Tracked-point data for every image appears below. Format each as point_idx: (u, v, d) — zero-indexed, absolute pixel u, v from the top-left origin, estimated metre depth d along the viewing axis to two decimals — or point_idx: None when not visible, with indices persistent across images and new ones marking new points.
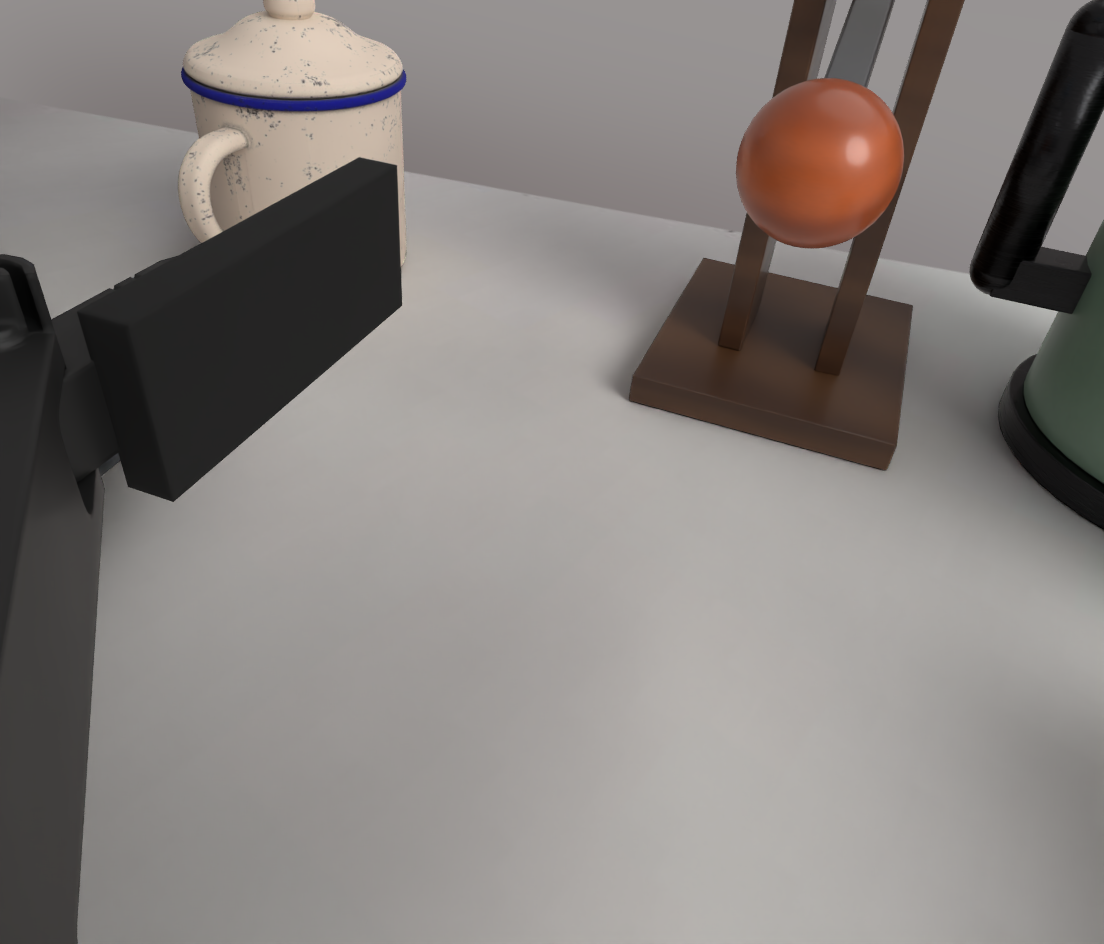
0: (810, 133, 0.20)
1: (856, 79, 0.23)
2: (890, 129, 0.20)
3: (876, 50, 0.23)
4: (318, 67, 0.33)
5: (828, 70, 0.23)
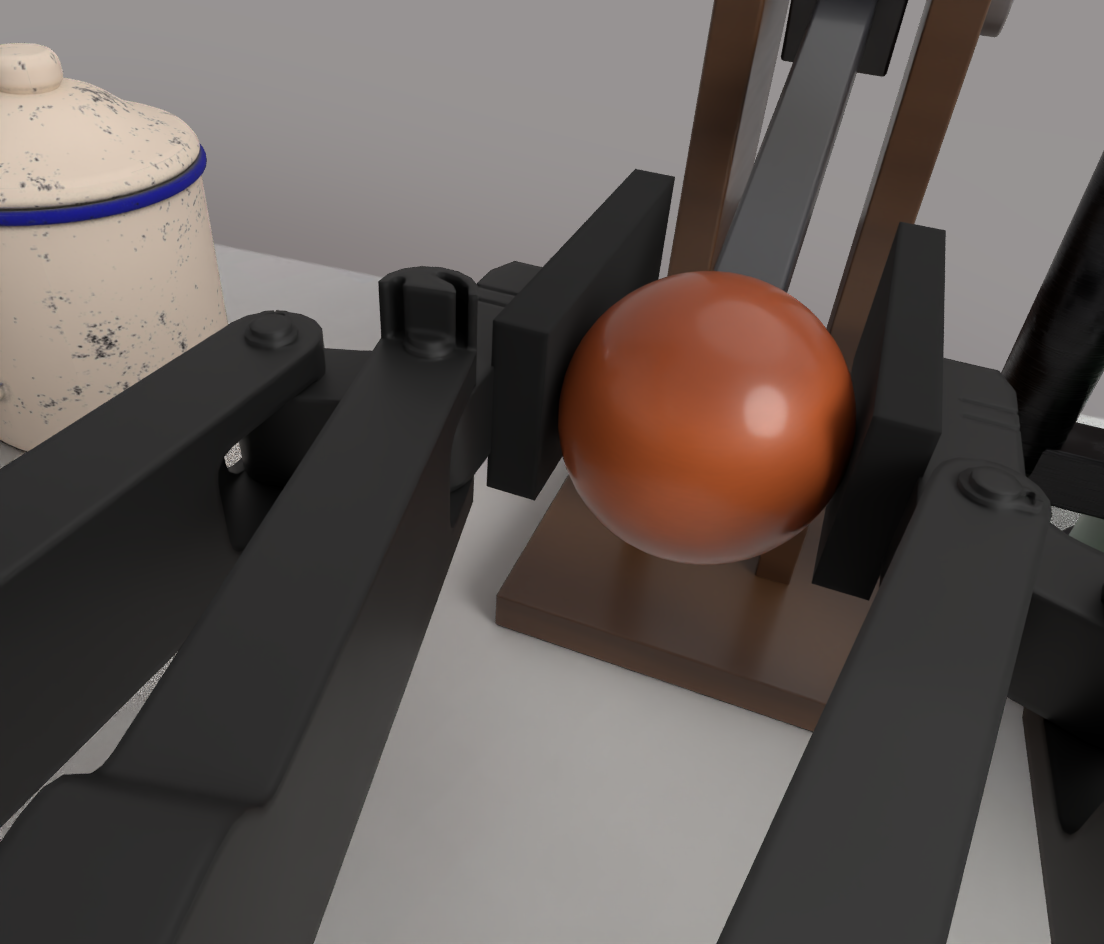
0: (669, 400, 0.10)
1: (776, 250, 0.13)
2: (826, 385, 0.10)
3: (813, 192, 0.14)
4: (51, 163, 0.24)
5: (730, 230, 0.13)
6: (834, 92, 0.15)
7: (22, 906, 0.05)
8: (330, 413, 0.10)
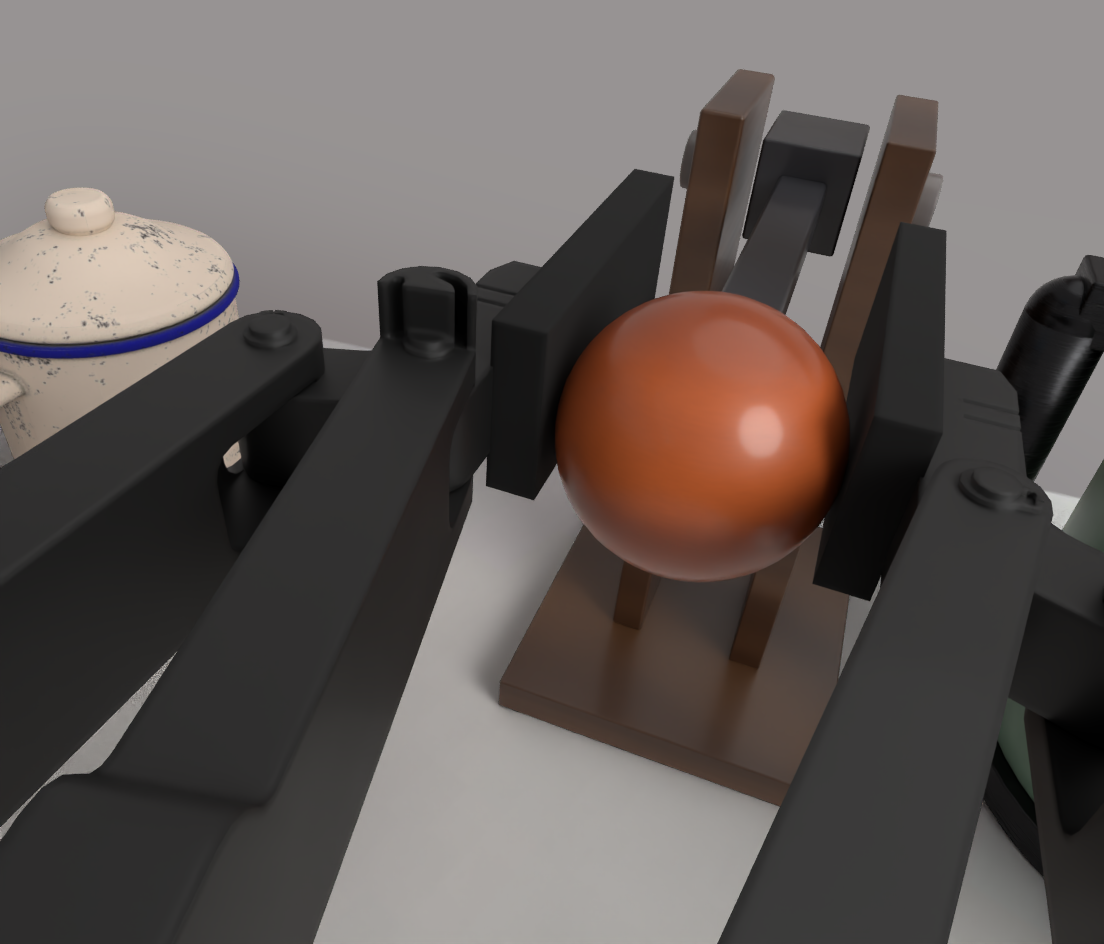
0: (680, 367, 0.10)
1: None
2: (827, 378, 0.11)
3: (788, 288, 0.15)
4: (107, 301, 0.27)
5: None
6: (799, 232, 0.17)
7: (21, 906, 0.05)
8: (329, 413, 0.10)
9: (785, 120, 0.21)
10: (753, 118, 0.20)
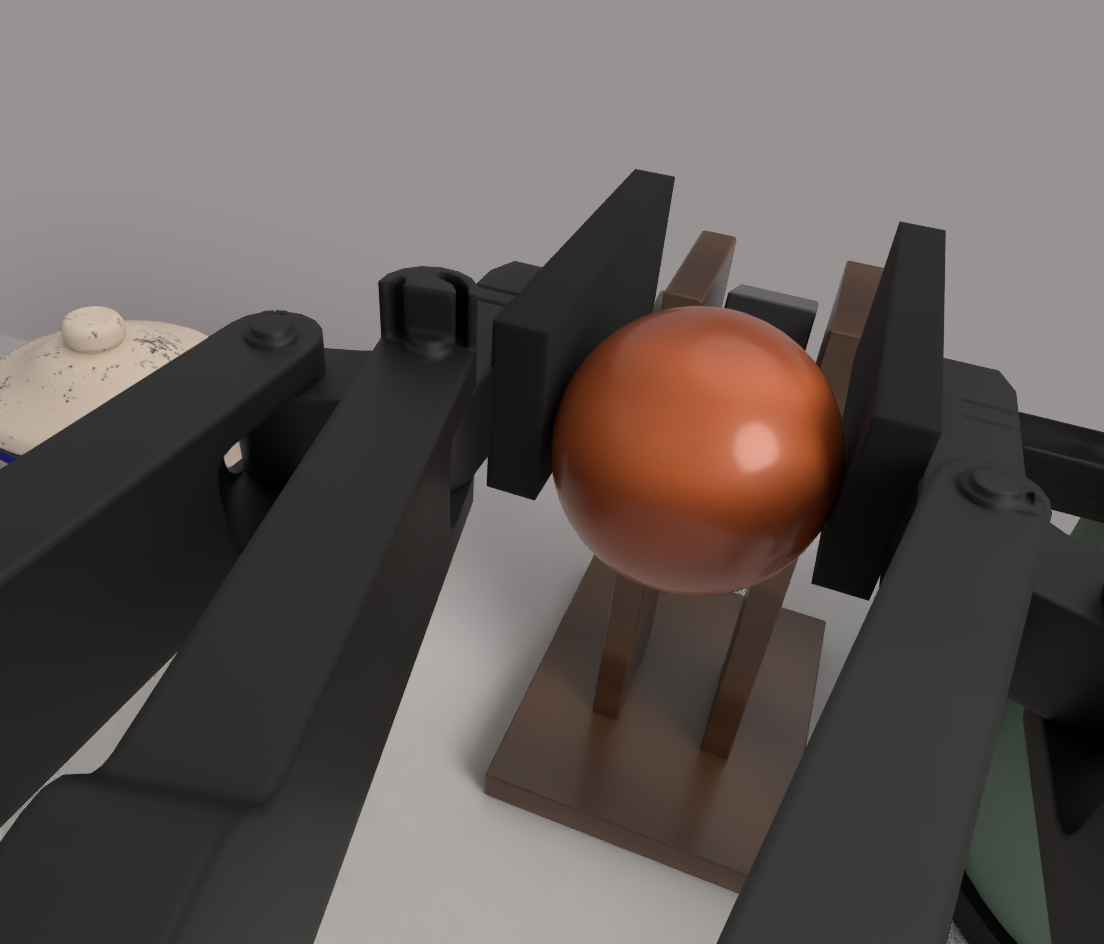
0: (691, 343, 0.11)
1: None
2: (825, 380, 0.11)
3: None
4: None
5: None
6: None
7: (22, 906, 0.05)
8: (330, 413, 0.10)
9: (744, 288, 0.23)
10: (713, 290, 0.22)
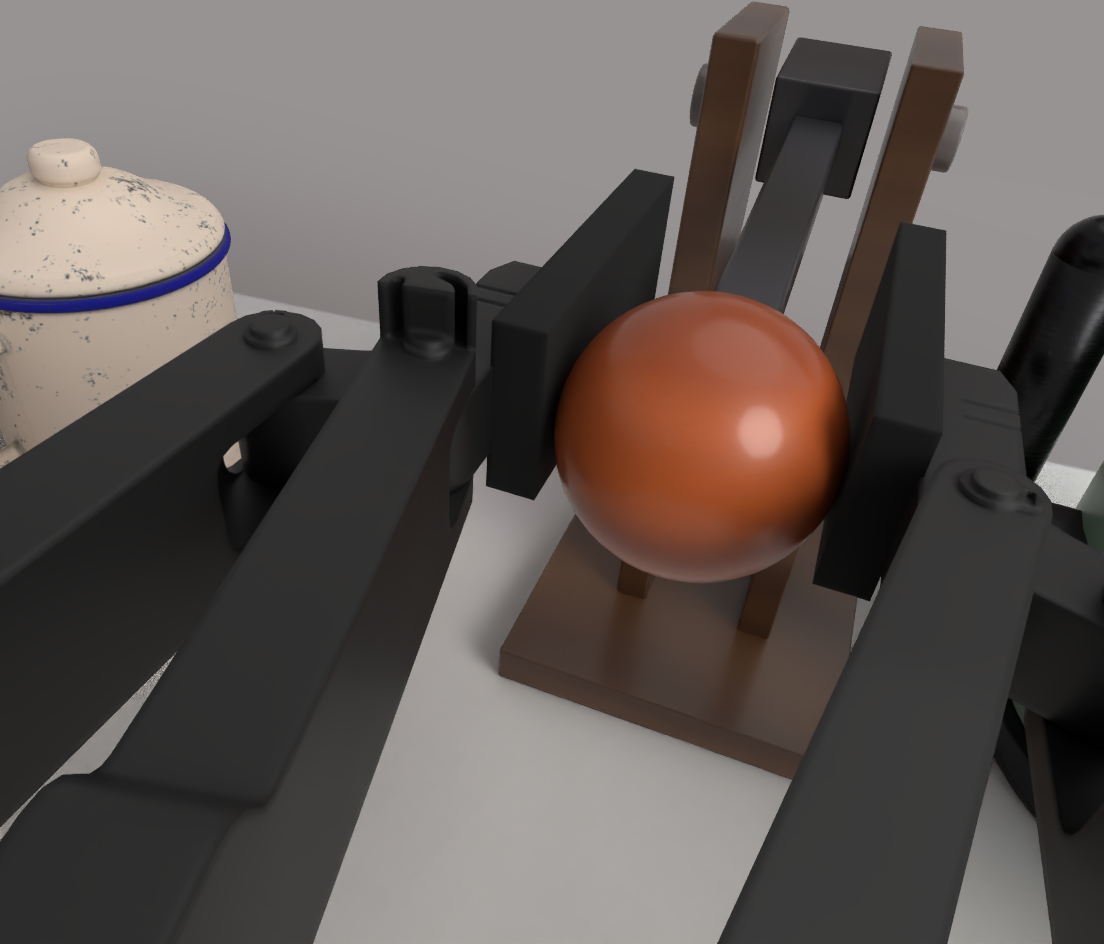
0: (674, 386, 0.10)
1: (765, 299, 0.14)
2: (825, 387, 0.11)
3: (796, 259, 0.15)
4: (92, 254, 0.26)
5: (720, 282, 0.14)
6: (811, 188, 0.16)
7: (21, 905, 0.05)
8: (329, 413, 0.10)
9: (800, 50, 0.20)
10: (768, 46, 0.19)
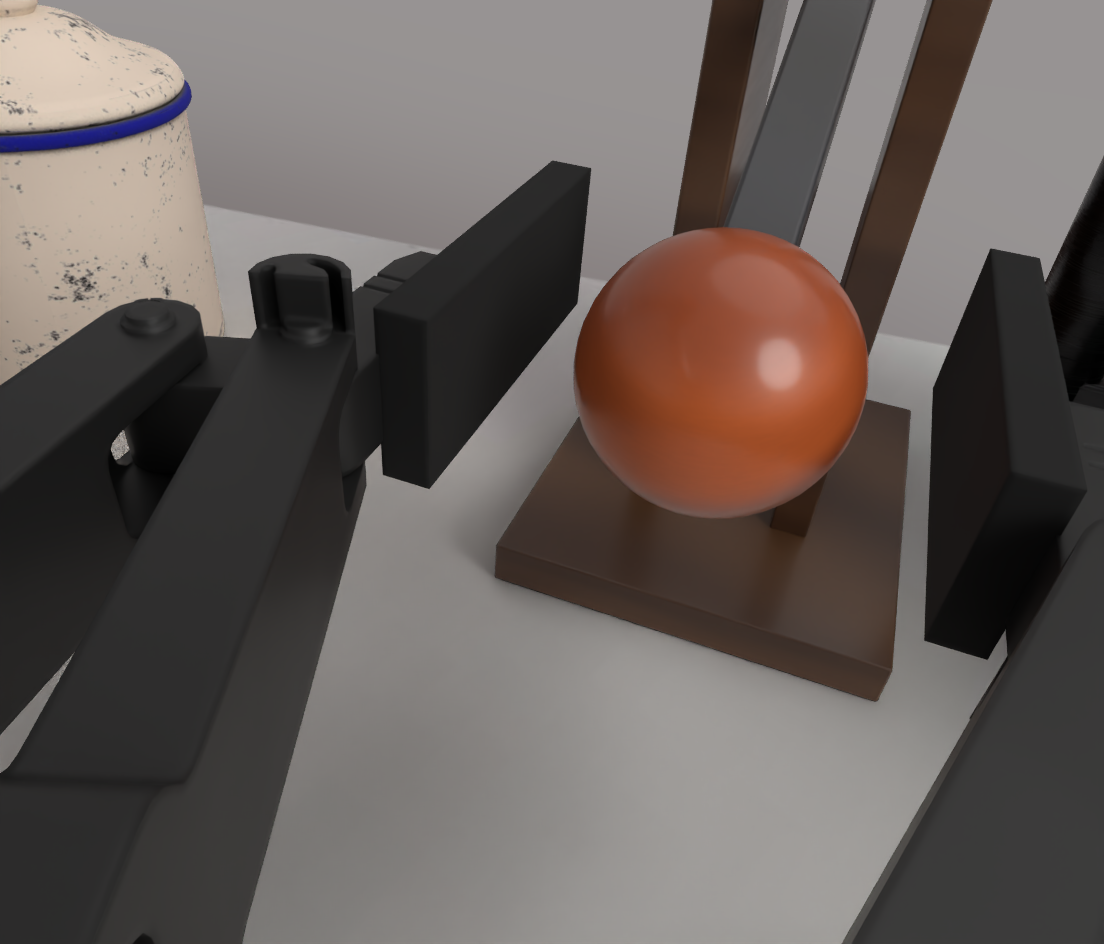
0: (678, 372, 0.10)
1: (792, 192, 0.13)
2: (836, 349, 0.10)
3: (832, 125, 0.13)
4: (23, 86, 0.22)
5: (744, 172, 0.13)
6: (857, 5, 0.14)
7: None
8: (206, 399, 0.11)
9: None
10: None
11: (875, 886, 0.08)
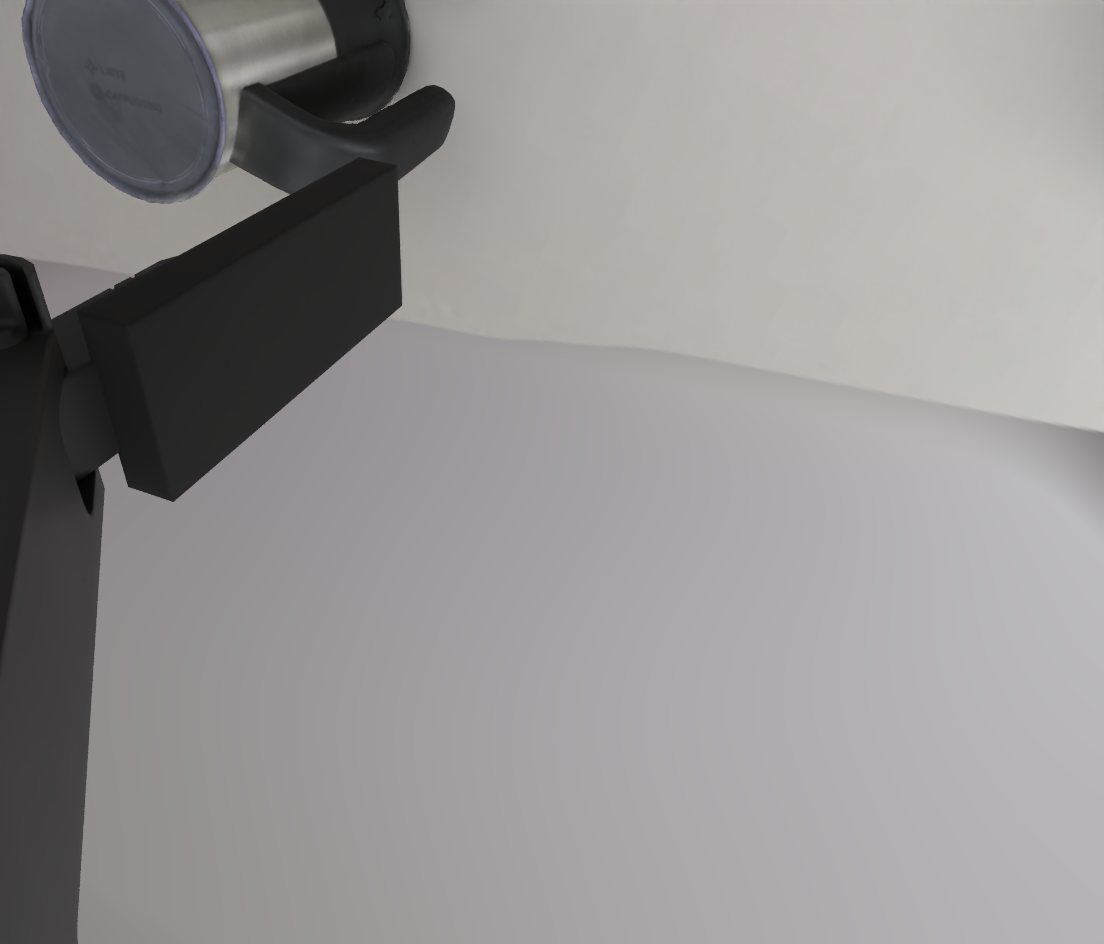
0: None
1: None
2: None
3: None
4: None
5: None
6: None
7: None
8: None
9: None
10: None
11: None
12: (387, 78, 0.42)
